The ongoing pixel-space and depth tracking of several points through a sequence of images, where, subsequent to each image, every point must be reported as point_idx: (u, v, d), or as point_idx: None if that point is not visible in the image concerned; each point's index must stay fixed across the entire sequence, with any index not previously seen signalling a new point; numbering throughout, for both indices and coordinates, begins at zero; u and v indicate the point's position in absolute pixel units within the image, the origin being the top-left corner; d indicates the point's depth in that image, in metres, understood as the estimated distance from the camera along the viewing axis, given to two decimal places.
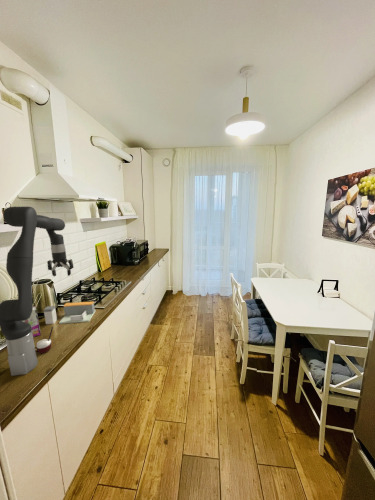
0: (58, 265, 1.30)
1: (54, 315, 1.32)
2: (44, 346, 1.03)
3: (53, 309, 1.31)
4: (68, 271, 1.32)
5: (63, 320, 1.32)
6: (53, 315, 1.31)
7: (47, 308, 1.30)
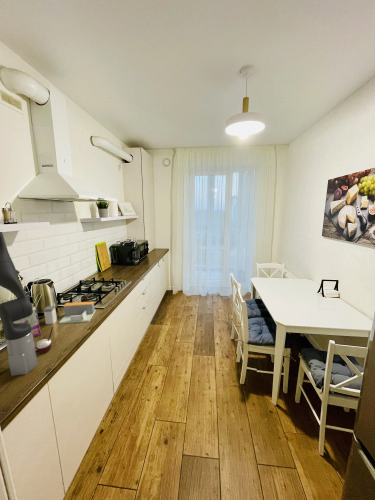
0: None
1: (54, 315, 1.32)
2: (44, 346, 1.03)
3: (53, 309, 1.31)
4: (19, 275, 1.27)
5: (63, 320, 1.32)
6: (53, 315, 1.31)
7: (47, 308, 1.30)
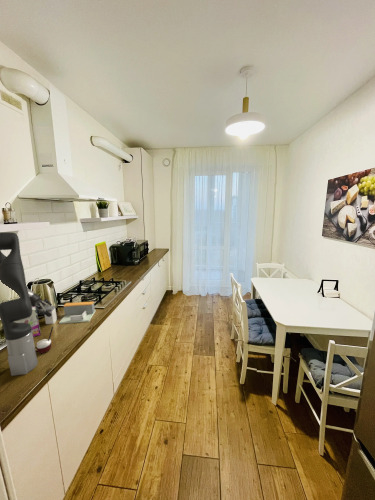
0: (42, 305, 1.30)
1: (54, 315, 1.32)
2: (44, 346, 1.03)
3: (53, 309, 1.31)
4: None
5: (63, 320, 1.32)
6: (53, 315, 1.31)
7: (47, 308, 1.30)
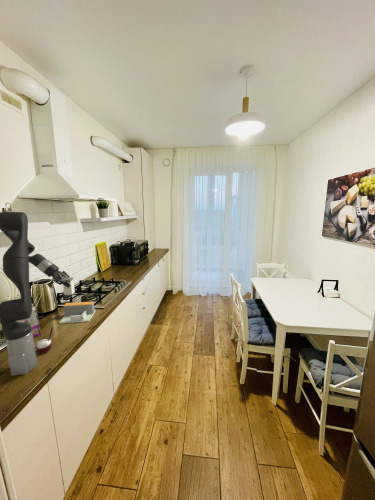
0: (61, 275, 1.29)
1: (72, 286, 1.31)
2: (44, 346, 1.03)
3: (71, 280, 1.31)
4: None
5: (63, 320, 1.32)
6: (71, 286, 1.31)
7: (66, 279, 1.29)
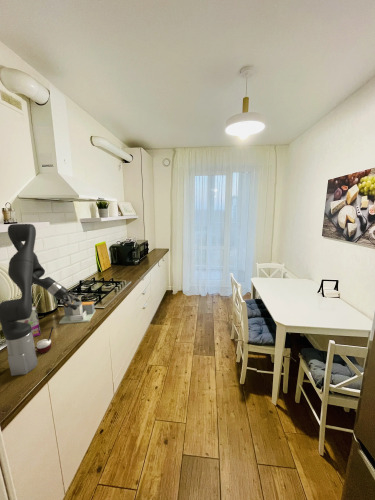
0: (70, 298, 1.32)
1: (81, 310, 1.35)
2: (44, 346, 1.03)
3: (80, 304, 1.35)
4: (78, 299, 1.38)
5: (63, 320, 1.32)
6: (80, 310, 1.35)
7: (75, 303, 1.33)
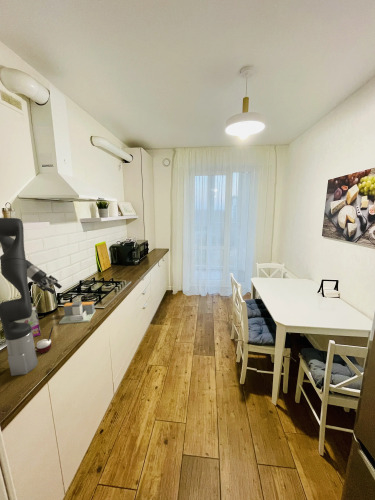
0: (48, 282, 1.29)
1: (81, 310, 1.35)
2: (44, 346, 1.03)
3: (80, 304, 1.35)
4: None
5: (63, 320, 1.32)
6: (80, 310, 1.35)
7: (75, 303, 1.33)
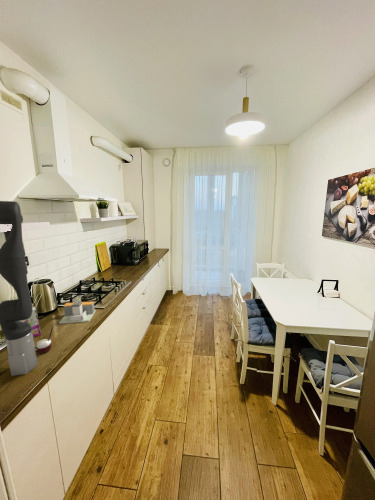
0: None
1: (81, 310, 1.35)
2: (44, 346, 1.03)
3: (80, 304, 1.35)
4: (26, 269, 1.21)
5: (63, 320, 1.32)
6: (80, 310, 1.35)
7: (75, 303, 1.33)
